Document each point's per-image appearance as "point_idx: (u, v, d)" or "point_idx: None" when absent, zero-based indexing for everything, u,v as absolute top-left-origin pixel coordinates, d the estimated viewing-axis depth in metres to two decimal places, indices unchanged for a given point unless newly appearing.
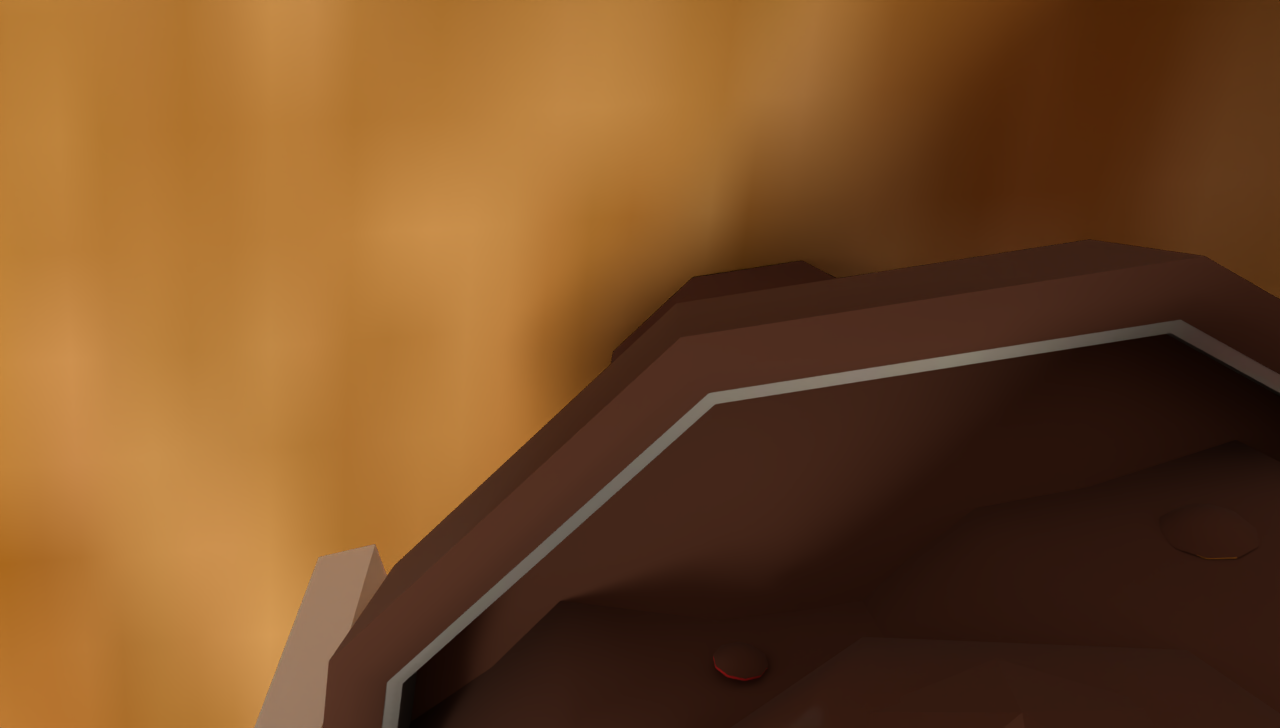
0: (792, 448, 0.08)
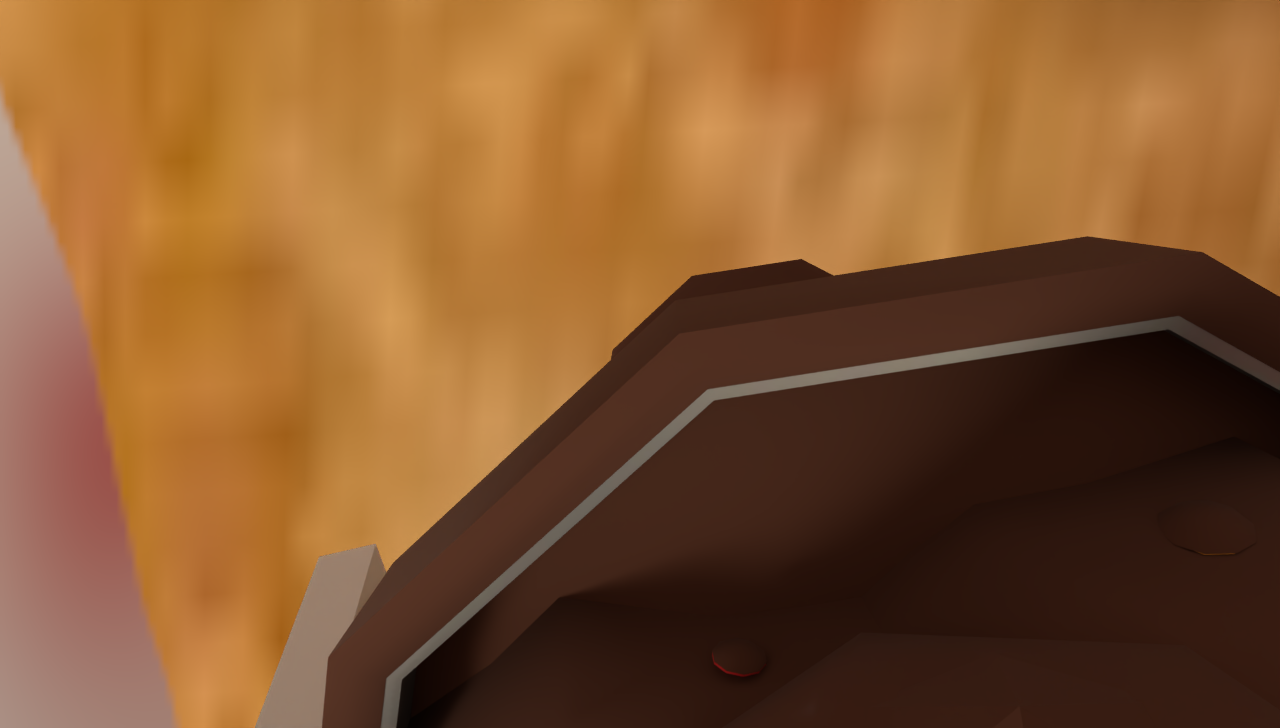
0: (789, 444, 0.08)
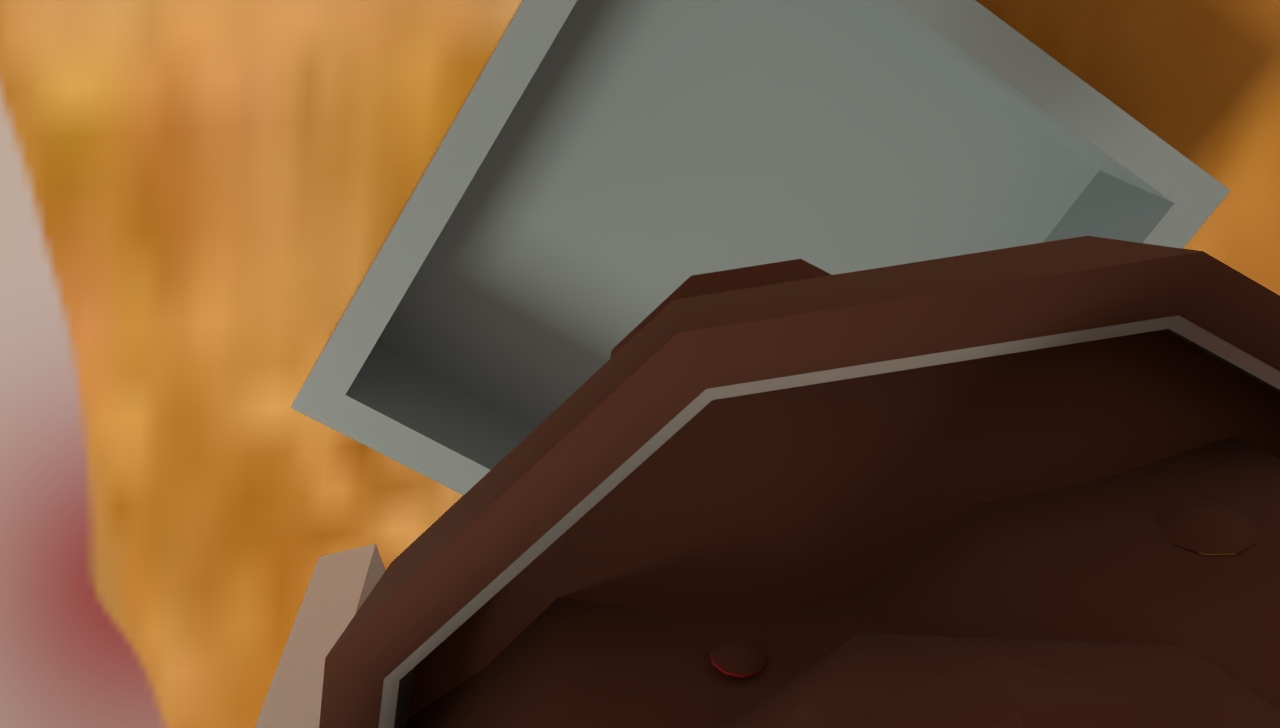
0: (788, 444, 0.08)
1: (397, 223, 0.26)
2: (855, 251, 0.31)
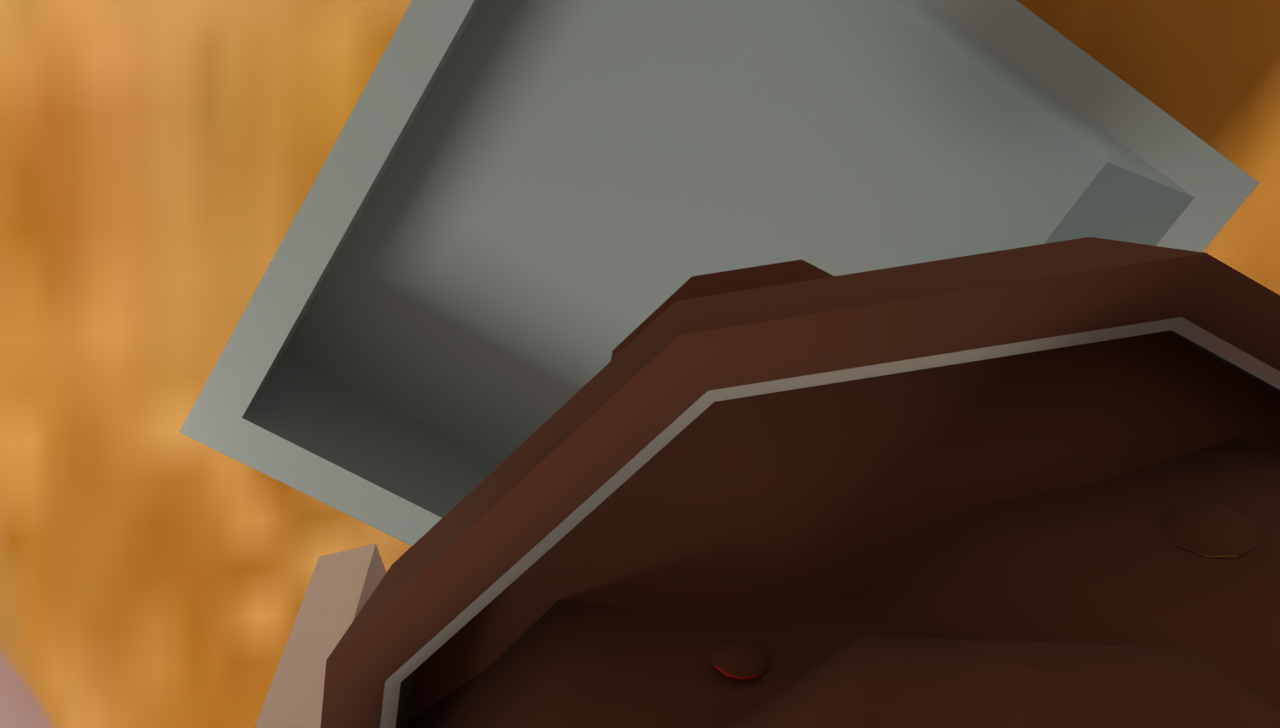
0: (792, 446, 0.08)
1: (295, 220, 0.22)
2: (832, 253, 0.27)
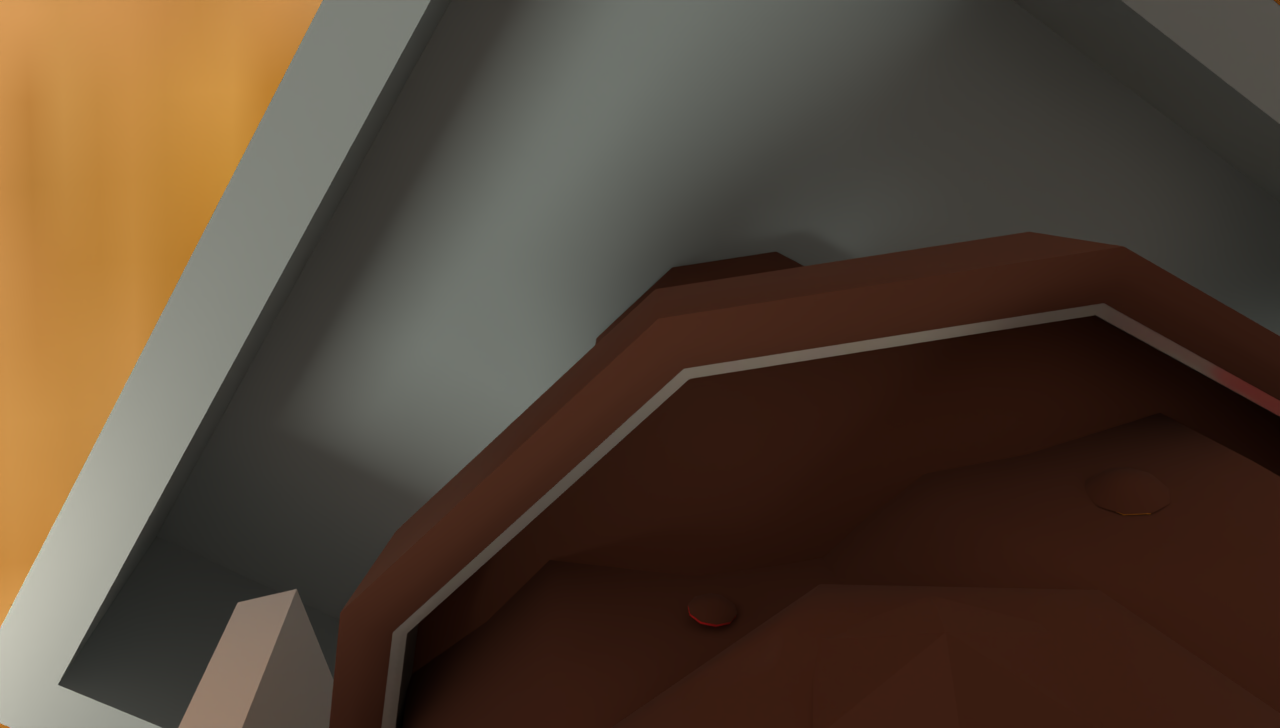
0: (760, 419, 0.09)
1: (124, 392, 0.14)
2: None
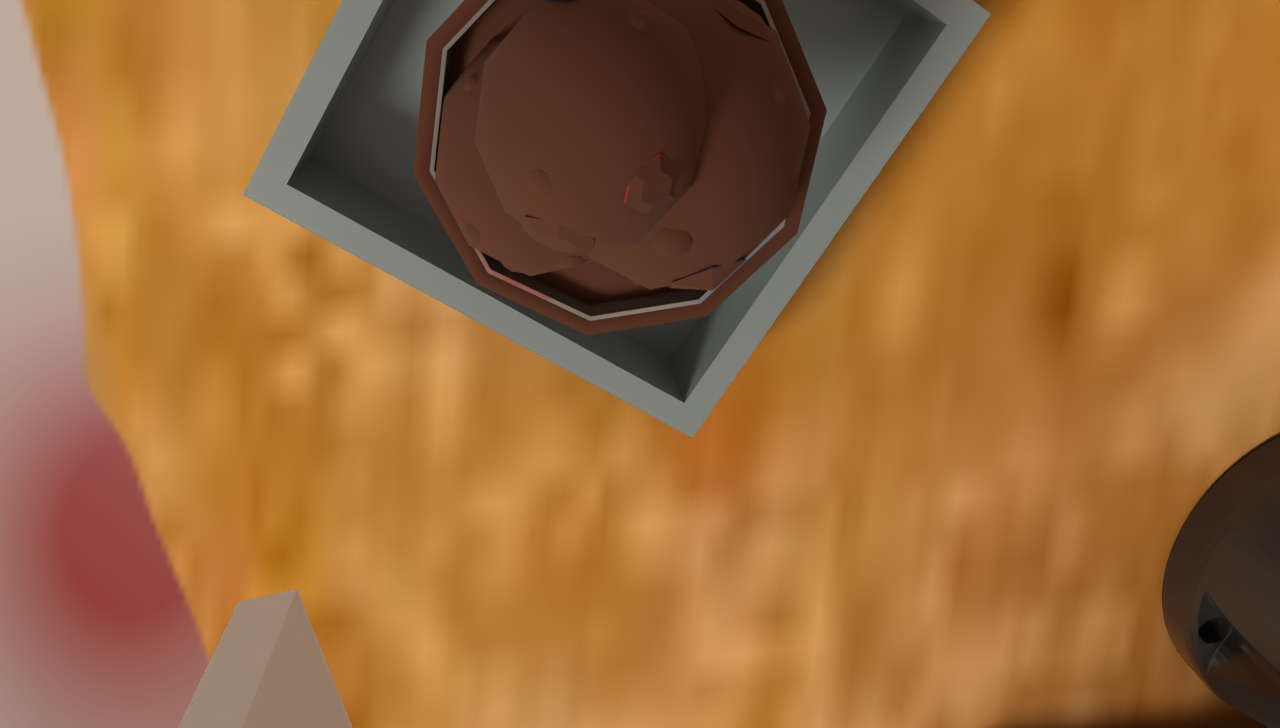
0: None
1: (323, 38, 0.32)
2: None
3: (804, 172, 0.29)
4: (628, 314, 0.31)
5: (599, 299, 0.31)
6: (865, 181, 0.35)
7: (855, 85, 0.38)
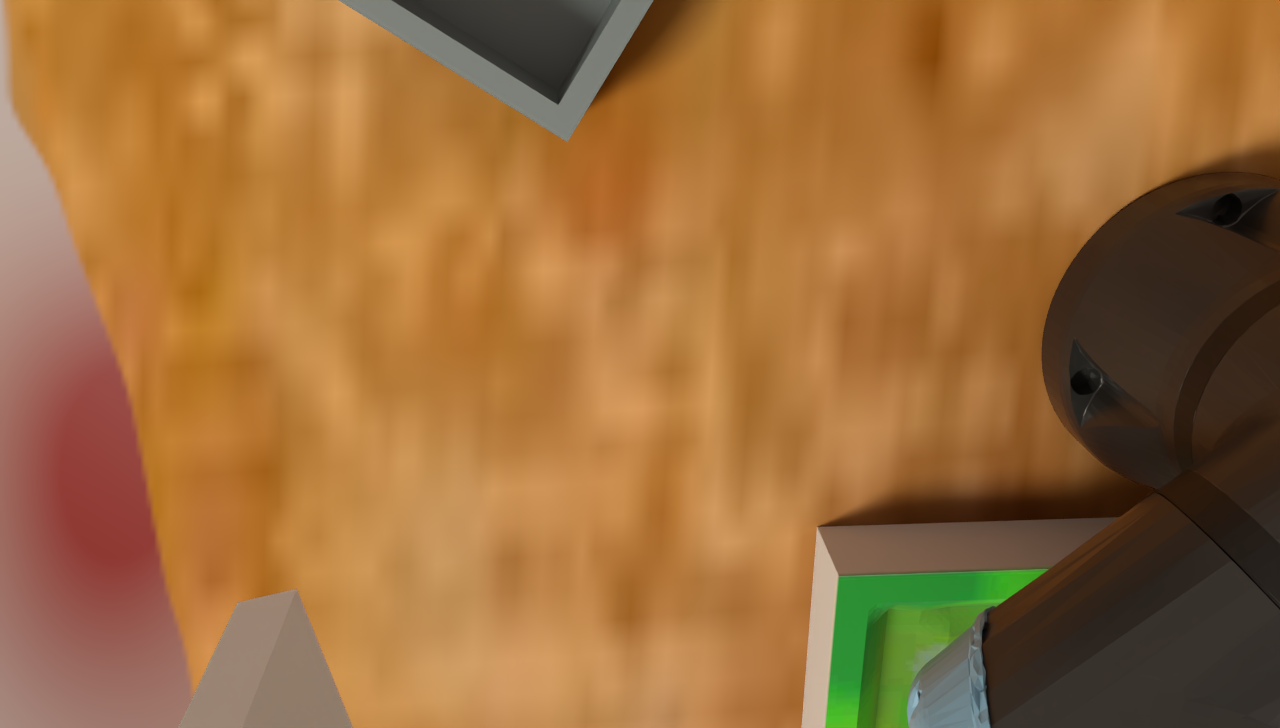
0: None
1: None
2: None
3: None
4: None
5: None
6: None
7: None
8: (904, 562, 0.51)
